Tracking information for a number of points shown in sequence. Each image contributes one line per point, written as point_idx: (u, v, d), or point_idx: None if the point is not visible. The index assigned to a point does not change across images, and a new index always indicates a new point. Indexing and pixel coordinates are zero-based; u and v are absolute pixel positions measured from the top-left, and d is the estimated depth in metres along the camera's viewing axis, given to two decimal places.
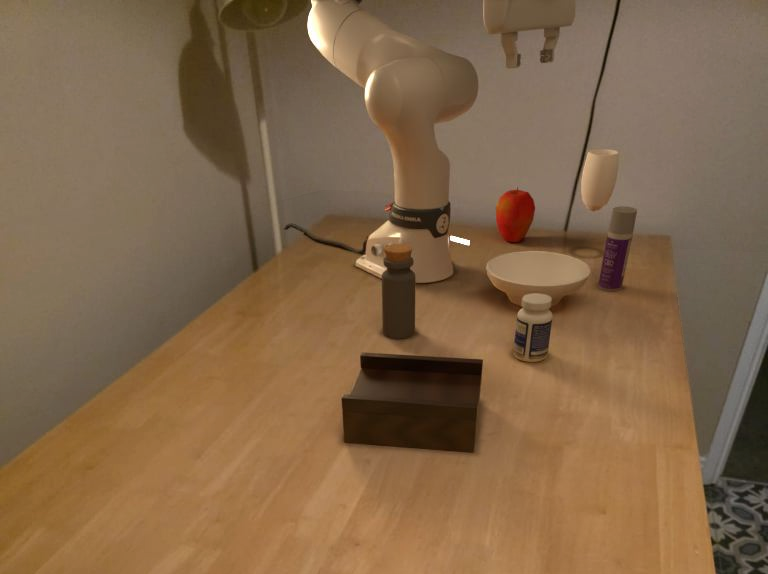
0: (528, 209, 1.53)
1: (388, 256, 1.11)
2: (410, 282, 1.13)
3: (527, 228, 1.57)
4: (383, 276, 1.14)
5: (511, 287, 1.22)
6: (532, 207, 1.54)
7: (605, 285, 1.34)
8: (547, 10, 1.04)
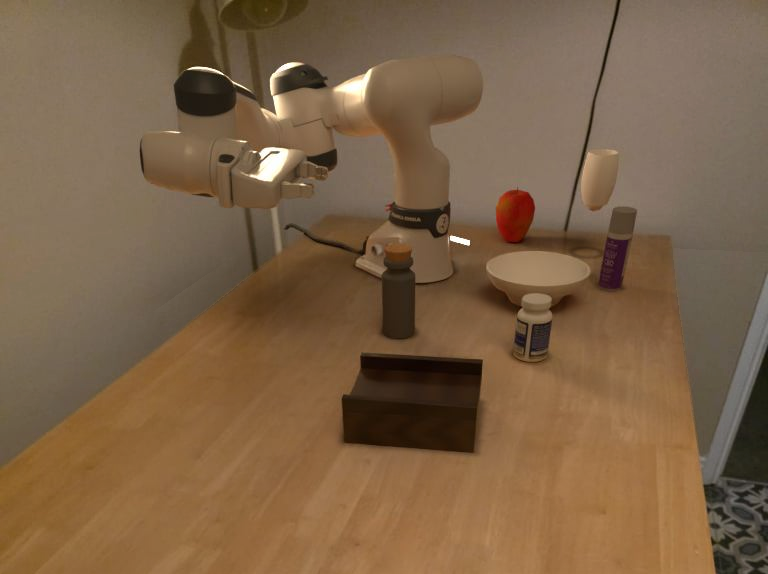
0: (528, 209, 1.53)
1: (388, 256, 1.11)
2: (410, 282, 1.13)
3: (527, 228, 1.57)
4: (383, 276, 1.14)
5: (511, 287, 1.22)
6: (532, 207, 1.54)
7: (605, 285, 1.34)
8: (280, 161, 1.08)
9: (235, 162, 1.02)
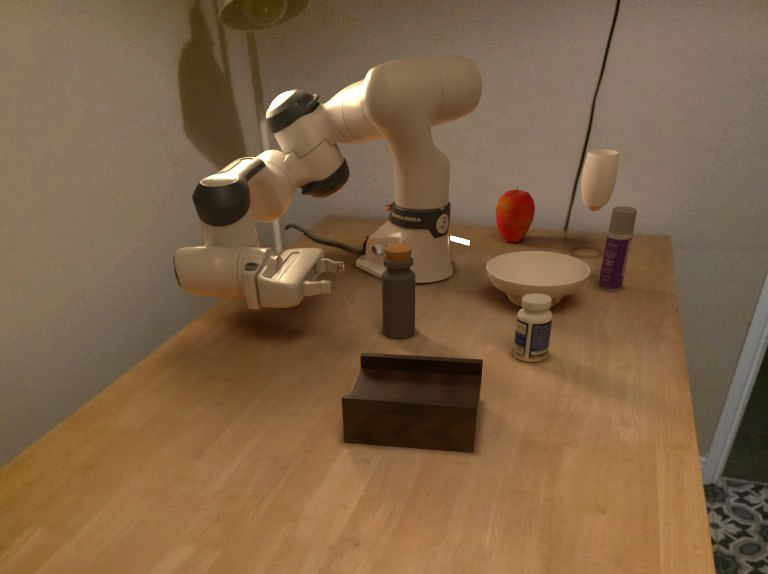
0: (528, 209, 1.53)
1: (388, 256, 1.11)
2: (410, 282, 1.13)
3: (527, 228, 1.57)
4: (383, 276, 1.14)
5: (511, 287, 1.22)
6: (532, 207, 1.54)
7: (605, 285, 1.34)
8: (300, 262, 1.18)
9: (259, 268, 1.12)
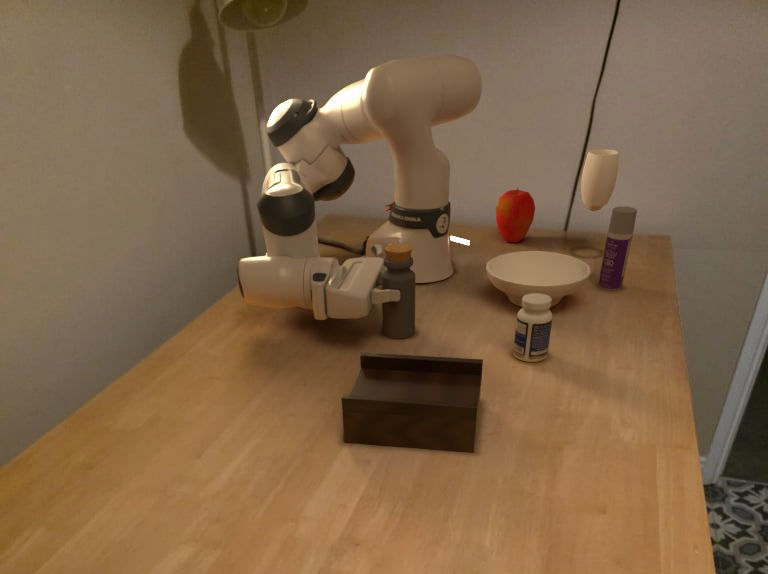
0: (528, 209, 1.53)
1: (388, 256, 1.11)
2: (410, 282, 1.13)
3: (527, 228, 1.57)
4: (383, 276, 1.14)
5: (511, 287, 1.22)
6: (532, 207, 1.54)
7: (605, 285, 1.34)
8: (365, 272, 1.17)
9: (327, 279, 1.11)
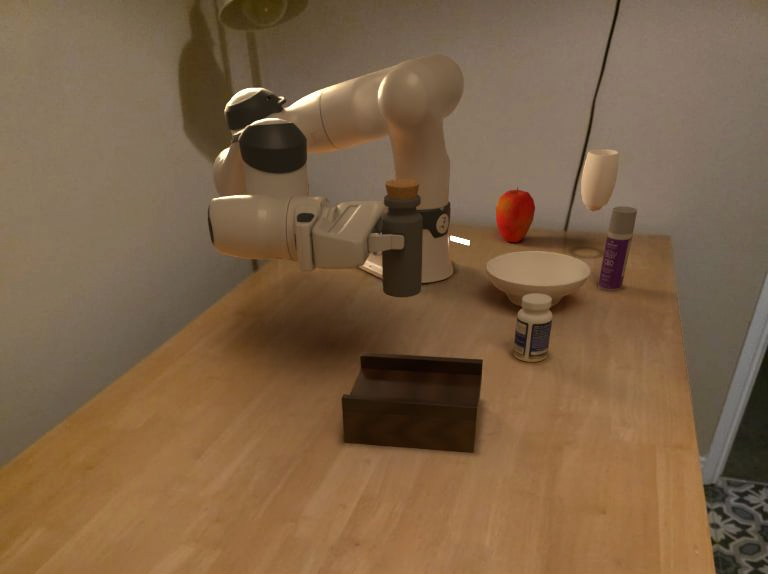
0: (528, 209, 1.53)
1: (390, 192, 0.91)
2: (416, 226, 0.93)
3: (527, 228, 1.57)
4: (383, 219, 0.93)
5: (511, 287, 1.22)
6: (532, 207, 1.54)
7: (605, 285, 1.34)
8: (362, 215, 0.96)
9: (315, 220, 0.91)
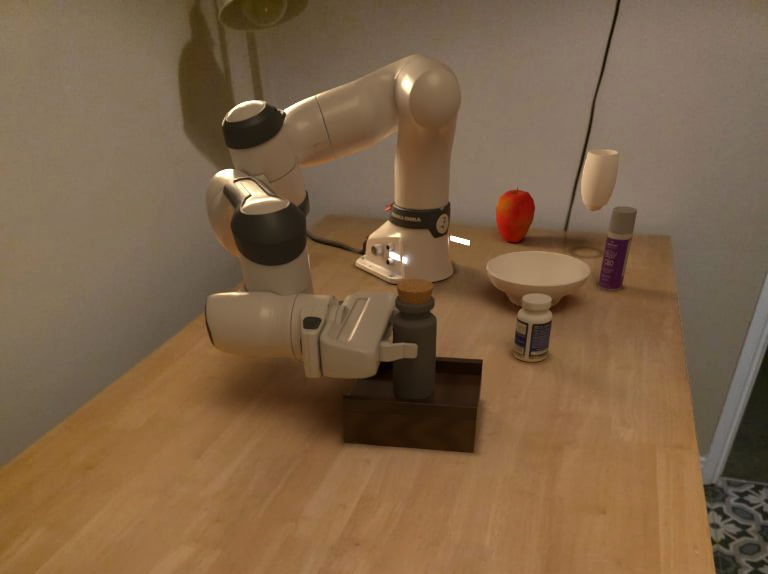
0: (528, 209, 1.53)
1: (402, 296, 0.84)
2: (430, 330, 0.86)
3: (527, 228, 1.57)
4: (395, 321, 0.86)
5: (511, 287, 1.22)
6: (532, 207, 1.54)
7: (605, 285, 1.34)
8: (372, 313, 0.89)
9: (322, 325, 0.84)
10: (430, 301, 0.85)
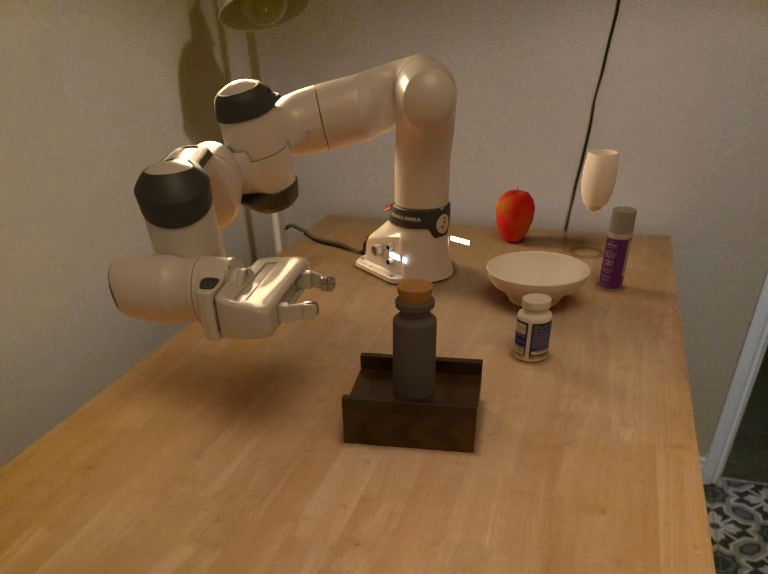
0: (528, 209, 1.53)
1: (402, 296, 0.84)
2: (430, 330, 0.86)
3: (527, 228, 1.57)
4: (395, 321, 0.86)
5: (511, 287, 1.22)
6: (532, 207, 1.54)
7: (605, 285, 1.34)
8: (277, 276, 0.88)
9: (220, 286, 0.83)
10: (430, 301, 0.85)
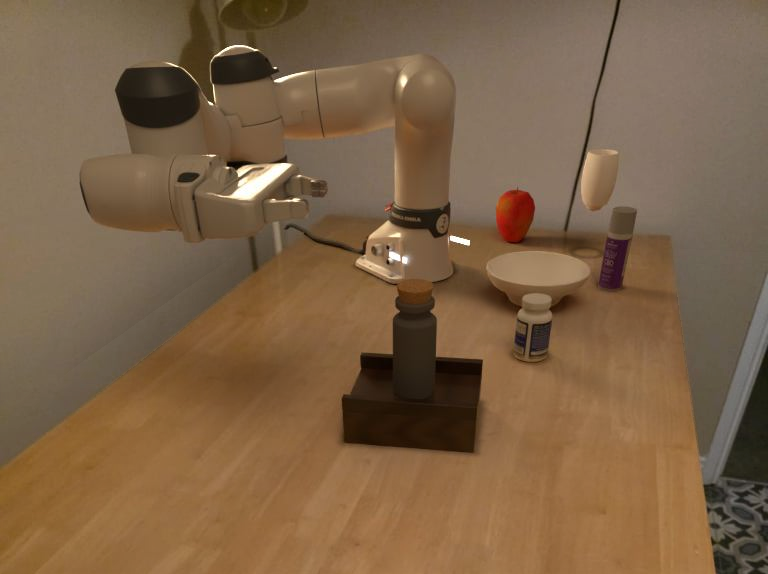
0: (528, 209, 1.53)
1: (402, 296, 0.84)
2: (430, 330, 0.86)
3: (527, 228, 1.57)
4: (395, 322, 0.86)
5: (511, 287, 1.22)
6: (532, 207, 1.54)
7: (605, 285, 1.34)
8: (263, 177, 0.81)
9: (200, 181, 0.75)
10: (430, 301, 0.85)
